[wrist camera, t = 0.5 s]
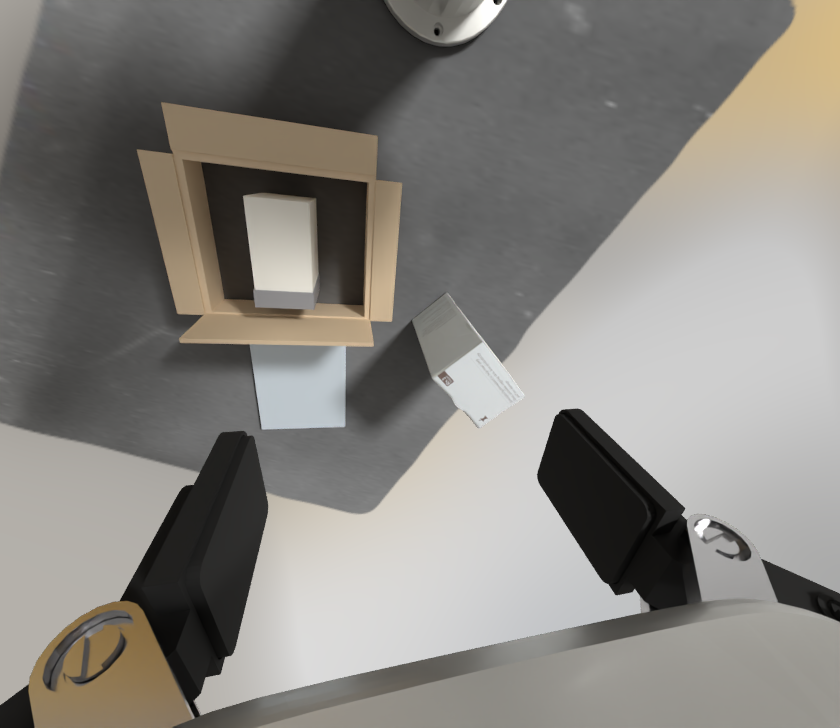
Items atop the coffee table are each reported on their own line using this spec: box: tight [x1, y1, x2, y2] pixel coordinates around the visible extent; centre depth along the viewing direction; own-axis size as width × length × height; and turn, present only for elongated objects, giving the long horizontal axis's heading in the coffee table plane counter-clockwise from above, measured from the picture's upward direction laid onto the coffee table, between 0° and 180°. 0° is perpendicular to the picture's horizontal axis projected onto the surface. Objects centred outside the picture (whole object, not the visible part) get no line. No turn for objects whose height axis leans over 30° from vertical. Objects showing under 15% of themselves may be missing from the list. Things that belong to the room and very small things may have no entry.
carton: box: [137, 102, 402, 347], centre depth 30 cm, size 17×21×10 cm
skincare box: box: [412, 293, 525, 428], centre depth 37 cm, size 8×6×15 cm
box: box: [243, 192, 320, 310], centre depth 32 cm, size 9×5×7 cm, turn 174°
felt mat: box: [250, 344, 346, 430], centre depth 43 cm, size 13×11×1 cm
